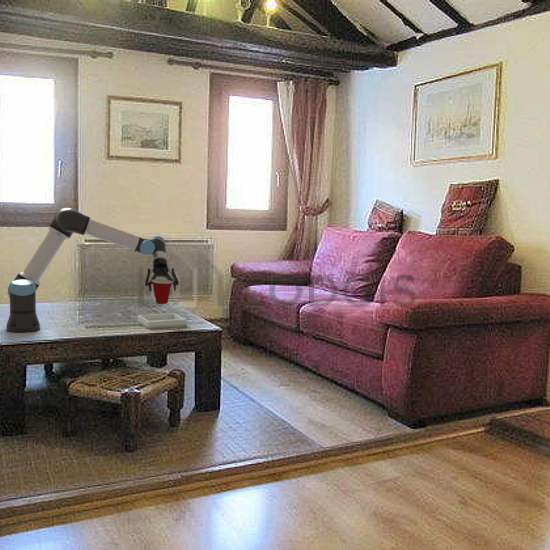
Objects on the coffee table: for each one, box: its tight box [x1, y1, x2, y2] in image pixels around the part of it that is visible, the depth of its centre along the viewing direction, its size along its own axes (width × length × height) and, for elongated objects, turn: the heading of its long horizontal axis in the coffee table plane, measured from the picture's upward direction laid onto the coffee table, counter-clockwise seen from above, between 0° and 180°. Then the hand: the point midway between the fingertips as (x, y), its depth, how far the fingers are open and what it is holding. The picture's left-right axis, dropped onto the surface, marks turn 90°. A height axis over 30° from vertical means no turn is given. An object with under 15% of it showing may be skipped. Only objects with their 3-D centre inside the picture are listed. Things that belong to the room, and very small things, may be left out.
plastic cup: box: [152, 278, 173, 305], centre depth 331 cm, size 11×11×12 cm
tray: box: [137, 312, 188, 330], centre depth 332 cm, size 20×20×4 cm
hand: (163, 295), depth 328 cm, fingers closed on plastic cup, 10 cm apart
